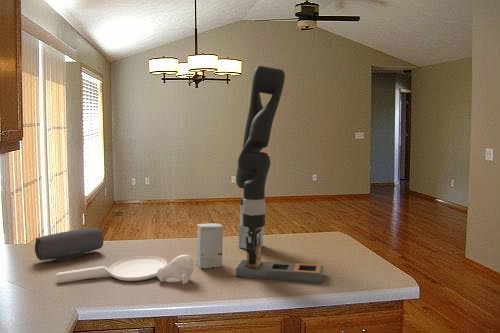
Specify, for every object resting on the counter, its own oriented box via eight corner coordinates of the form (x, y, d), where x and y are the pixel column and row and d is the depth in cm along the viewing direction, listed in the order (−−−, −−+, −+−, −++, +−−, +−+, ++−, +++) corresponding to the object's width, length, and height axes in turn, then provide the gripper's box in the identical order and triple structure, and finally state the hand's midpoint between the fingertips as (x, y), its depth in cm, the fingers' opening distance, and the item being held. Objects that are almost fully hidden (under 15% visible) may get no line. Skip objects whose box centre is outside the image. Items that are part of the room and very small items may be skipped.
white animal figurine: (191, 257, 147) (153, 261, 147) (194, 283, 148) (156, 287, 148) (193, 251, 153) (156, 255, 153) (195, 277, 154) (159, 280, 154)
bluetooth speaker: (93, 249, 188) (92, 224, 187) (104, 253, 182) (103, 228, 181) (34, 260, 172) (33, 234, 171) (44, 266, 166) (43, 238, 165)
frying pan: (57, 299, 141) (56, 285, 141) (58, 275, 159) (57, 262, 158) (173, 280, 154) (172, 266, 153) (162, 260, 171) (161, 248, 170)
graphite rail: (236, 276, 155) (236, 267, 155) (242, 268, 164) (242, 259, 164) (321, 283, 149) (321, 273, 149) (323, 274, 158) (323, 264, 158)
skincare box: (199, 269, 163) (199, 227, 162) (196, 264, 169) (196, 223, 167) (223, 267, 166) (223, 225, 164) (219, 262, 171) (219, 222, 170)
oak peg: (246, 275, 157) (246, 245, 156) (249, 271, 161) (249, 242, 160) (258, 276, 156) (258, 246, 155) (260, 272, 160) (260, 243, 159)
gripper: (247, 207, 164) (247, 255, 166) (237, 215, 150) (237, 267, 152) (268, 208, 163) (268, 256, 164) (260, 216, 149) (260, 269, 151)
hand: (253, 261), depth 158 cm, fingers closed on oak peg, 4 cm apart
